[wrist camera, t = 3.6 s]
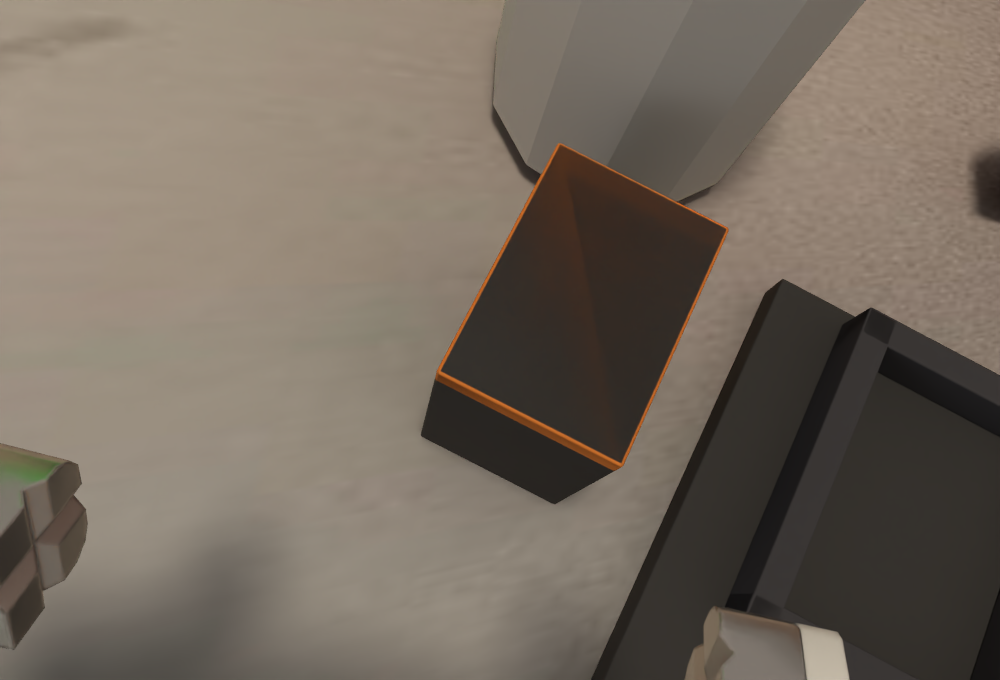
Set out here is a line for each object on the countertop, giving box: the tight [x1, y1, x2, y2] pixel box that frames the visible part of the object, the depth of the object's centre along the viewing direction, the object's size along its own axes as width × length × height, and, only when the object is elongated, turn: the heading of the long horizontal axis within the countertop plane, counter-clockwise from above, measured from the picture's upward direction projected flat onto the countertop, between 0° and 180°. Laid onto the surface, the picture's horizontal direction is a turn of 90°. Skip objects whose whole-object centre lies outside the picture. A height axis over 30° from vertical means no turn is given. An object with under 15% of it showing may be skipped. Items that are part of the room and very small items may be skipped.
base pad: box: [592, 279, 1000, 680], centre depth 30 cm, size 18×14×4 cm
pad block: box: [421, 143, 728, 504], centre depth 28 cm, size 7×5×9 cm
